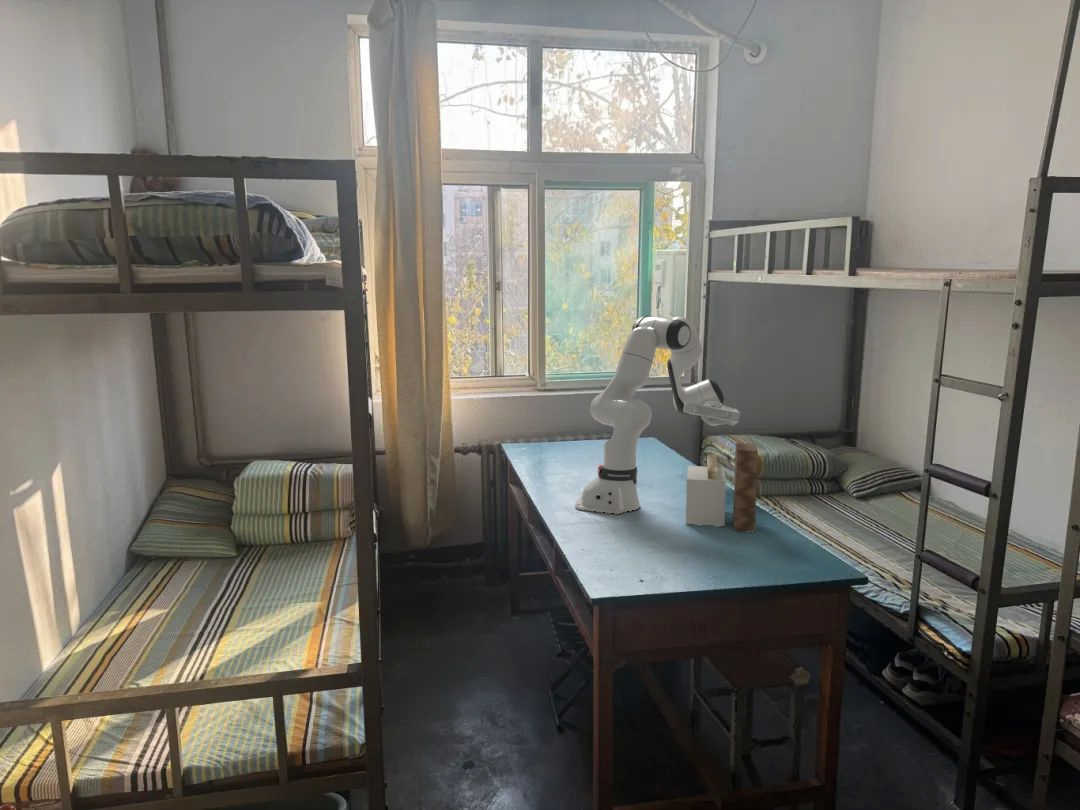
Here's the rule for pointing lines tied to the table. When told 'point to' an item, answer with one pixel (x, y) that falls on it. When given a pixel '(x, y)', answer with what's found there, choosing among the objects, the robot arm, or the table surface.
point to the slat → (712, 466)
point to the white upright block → (705, 497)
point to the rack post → (745, 487)
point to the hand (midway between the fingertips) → (710, 411)
